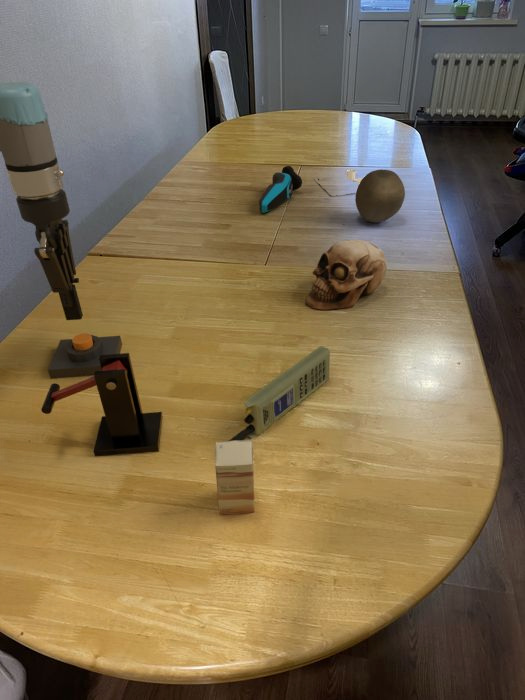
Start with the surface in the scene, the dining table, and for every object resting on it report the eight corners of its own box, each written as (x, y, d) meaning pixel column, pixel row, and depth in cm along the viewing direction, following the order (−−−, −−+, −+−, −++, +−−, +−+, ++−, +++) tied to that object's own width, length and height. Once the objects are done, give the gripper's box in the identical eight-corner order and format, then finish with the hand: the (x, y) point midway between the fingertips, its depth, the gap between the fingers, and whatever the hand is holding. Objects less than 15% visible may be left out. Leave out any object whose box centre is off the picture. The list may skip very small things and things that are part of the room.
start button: (72, 352, 98) (70, 344, 97) (76, 341, 101) (74, 333, 100) (91, 350, 98) (89, 343, 97) (95, 340, 101) (93, 332, 100)
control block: (50, 379, 97) (44, 362, 95) (63, 348, 106) (58, 332, 103) (114, 374, 98) (110, 357, 96) (122, 344, 106) (118, 328, 104)
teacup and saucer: (366, 185, 182) (367, 173, 180) (344, 187, 181) (345, 175, 179) (357, 177, 189) (358, 166, 187) (336, 179, 188) (337, 168, 186)
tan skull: (300, 306, 116) (305, 248, 109) (323, 279, 130) (329, 227, 123) (369, 321, 111) (379, 262, 104) (385, 291, 125) (395, 238, 118)
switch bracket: (94, 456, 81) (71, 383, 72) (103, 421, 87) (82, 350, 79) (158, 451, 81) (143, 378, 73) (162, 416, 88) (148, 345, 79)
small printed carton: (219, 515, 71) (212, 466, 65) (219, 490, 75) (213, 441, 69) (256, 513, 71) (253, 463, 65) (255, 488, 75) (252, 438, 69)
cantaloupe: (348, 227, 152) (352, 176, 143) (359, 211, 162) (363, 162, 154) (397, 233, 147) (404, 180, 139) (404, 215, 158) (411, 165, 149)
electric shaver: (280, 187, 182) (306, 191, 179) (245, 219, 166) (273, 224, 162) (279, 162, 177) (306, 166, 173) (243, 193, 160) (272, 197, 156)
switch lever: (47, 417, 77) (37, 406, 76) (56, 393, 82) (46, 383, 80) (124, 387, 75) (115, 375, 74) (129, 364, 80) (120, 353, 78)
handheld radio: (332, 380, 94) (235, 458, 80) (318, 373, 96) (221, 448, 82) (333, 350, 91) (231, 425, 76) (318, 344, 93) (216, 416, 78)
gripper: (54, 205, 77) (88, 336, 91) (72, 178, 88) (101, 298, 102) (2, 208, 77) (45, 338, 91) (27, 180, 87) (62, 301, 101)
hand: (74, 317), depth 96 cm, fingers closed
